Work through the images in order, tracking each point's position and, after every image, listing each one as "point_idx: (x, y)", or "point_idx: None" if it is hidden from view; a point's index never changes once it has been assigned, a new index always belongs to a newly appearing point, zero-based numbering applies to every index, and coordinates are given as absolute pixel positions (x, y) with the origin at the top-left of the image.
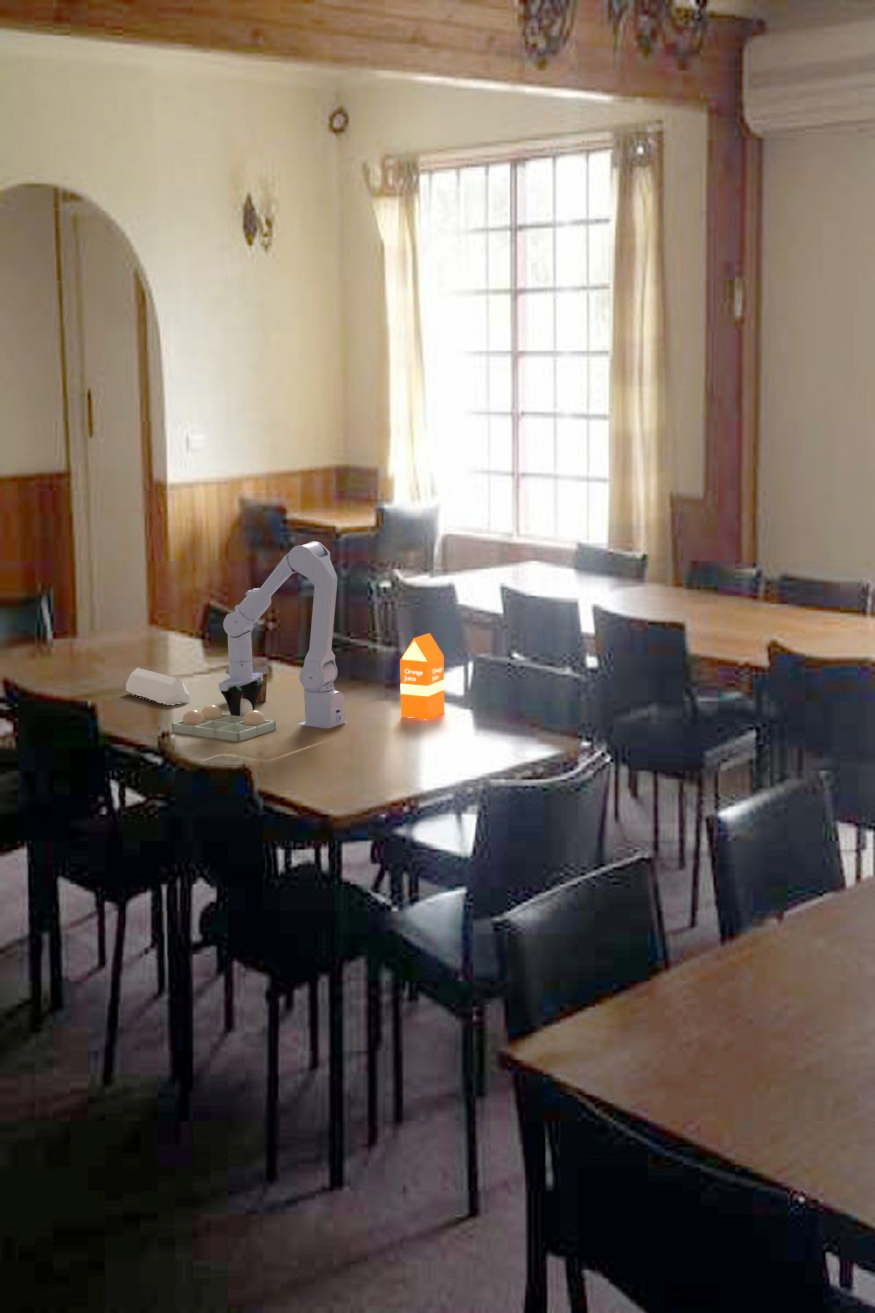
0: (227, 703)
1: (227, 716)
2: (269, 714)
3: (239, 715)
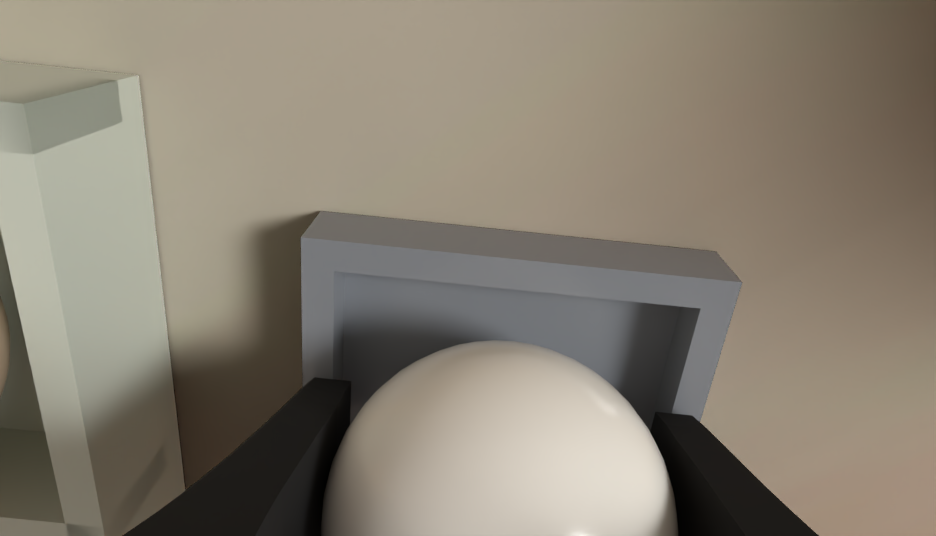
0: (168, 507)
1: (11, 528)
2: (901, 506)
3: None
